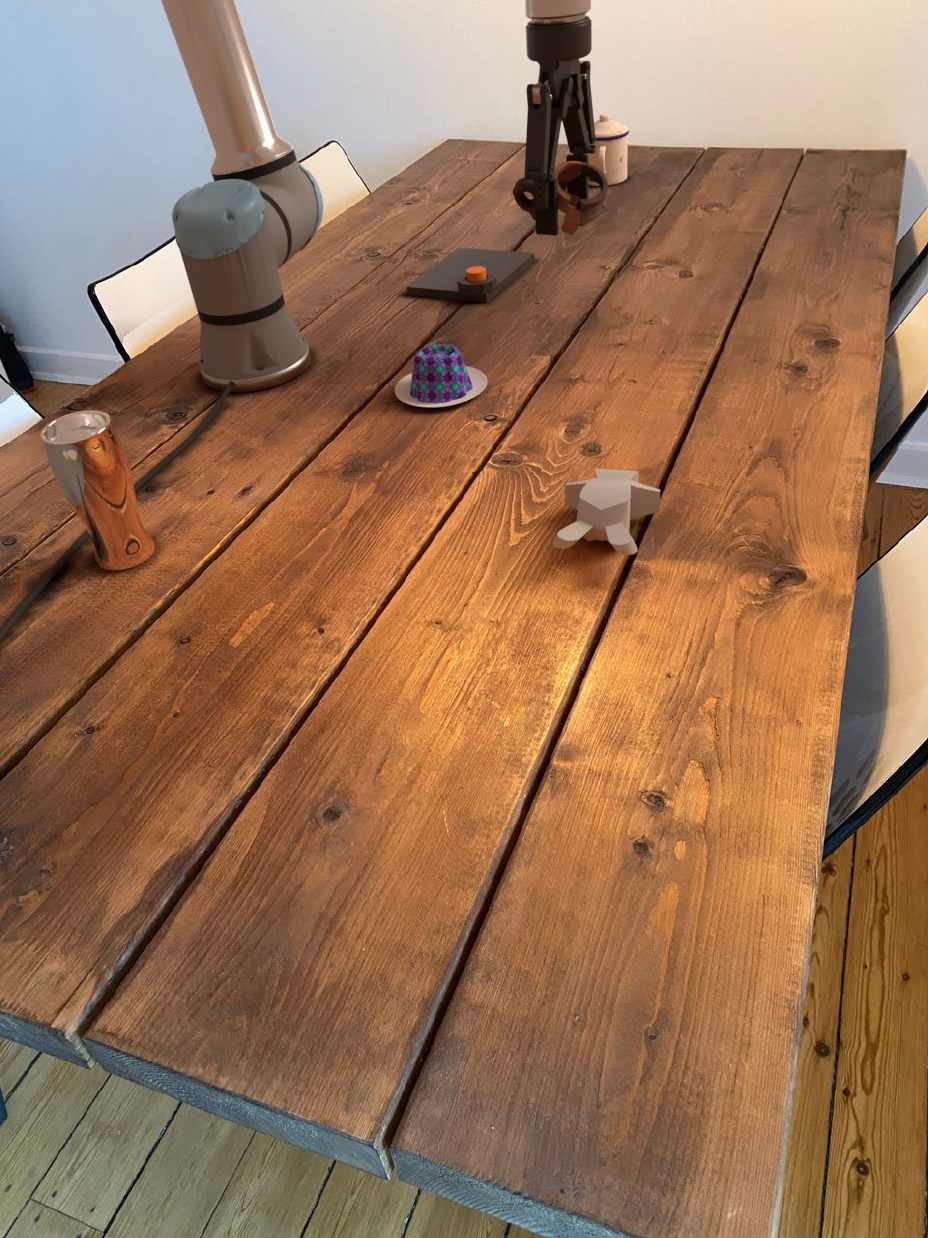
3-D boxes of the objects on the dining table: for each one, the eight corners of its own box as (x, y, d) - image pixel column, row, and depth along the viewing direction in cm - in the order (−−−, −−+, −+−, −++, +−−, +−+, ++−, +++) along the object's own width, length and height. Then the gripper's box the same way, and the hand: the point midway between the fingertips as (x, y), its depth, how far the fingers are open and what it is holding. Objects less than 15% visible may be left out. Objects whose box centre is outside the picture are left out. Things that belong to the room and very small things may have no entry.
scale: (487, 305, 142) (485, 285, 140) (404, 297, 148) (401, 278, 146) (537, 261, 155) (536, 242, 153) (459, 255, 161) (457, 237, 159)
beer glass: (134, 528, 103) (86, 402, 94) (172, 547, 100) (126, 419, 90) (79, 560, 100) (23, 433, 90) (117, 581, 96) (63, 451, 86)
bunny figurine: (667, 459, 96) (645, 527, 84) (664, 504, 99) (643, 577, 87) (575, 453, 99) (541, 518, 87) (574, 497, 101) (542, 567, 89)
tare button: (481, 284, 142) (480, 273, 141) (463, 282, 143) (462, 272, 142) (489, 276, 144) (489, 266, 143) (472, 275, 145) (471, 265, 144)
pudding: (497, 371, 125) (494, 333, 121) (474, 414, 116) (470, 374, 113) (411, 368, 128) (406, 331, 125) (382, 410, 119) (375, 371, 116)
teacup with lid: (584, 174, 190) (583, 110, 183) (630, 172, 188) (630, 107, 181) (577, 192, 182) (576, 125, 174) (625, 190, 180) (626, 122, 172)
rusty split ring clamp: (595, 209, 126) (614, 158, 119) (595, 264, 123) (615, 214, 115) (507, 195, 125) (520, 142, 117) (505, 249, 121) (518, 198, 114)
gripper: (549, 35, 99) (555, 252, 113) (623, -1, 114) (620, 196, 128) (485, 36, 102) (499, 247, 116) (565, 1, 117) (569, 193, 131)
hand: (562, 220), depth 122 cm, fingers closed on rusty split ring clamp, 9 cm apart
